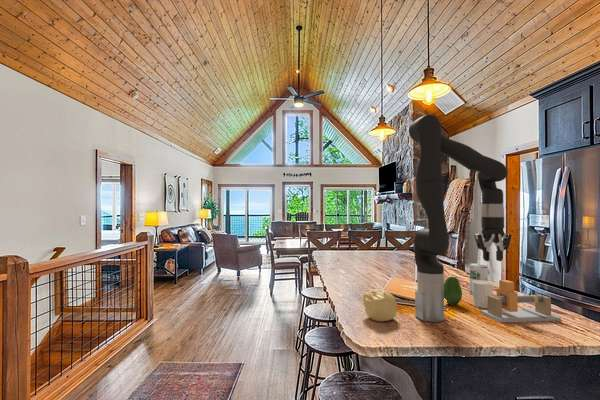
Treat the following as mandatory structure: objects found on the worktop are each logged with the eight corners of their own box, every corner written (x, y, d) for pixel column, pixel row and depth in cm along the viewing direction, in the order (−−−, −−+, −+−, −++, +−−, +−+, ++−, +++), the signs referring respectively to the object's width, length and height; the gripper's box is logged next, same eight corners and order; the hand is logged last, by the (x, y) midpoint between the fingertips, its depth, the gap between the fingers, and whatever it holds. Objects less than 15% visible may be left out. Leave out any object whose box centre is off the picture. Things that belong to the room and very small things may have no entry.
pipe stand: (500, 322, 118) (499, 300, 118) (480, 312, 128) (480, 292, 129) (560, 320, 120) (560, 298, 120) (536, 311, 131) (535, 291, 131)
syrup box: (468, 293, 157) (468, 263, 158) (478, 292, 159) (478, 262, 160) (478, 296, 152) (478, 265, 152) (488, 295, 154) (488, 264, 154)
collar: (510, 311, 120) (509, 283, 120) (496, 306, 127) (496, 279, 127) (517, 311, 120) (517, 283, 121) (503, 306, 127) (503, 279, 128)
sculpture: (358, 315, 125) (358, 286, 125) (387, 312, 128) (387, 285, 128) (372, 325, 114) (372, 294, 114) (403, 322, 117) (403, 292, 117)
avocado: (465, 304, 139) (465, 276, 139) (456, 308, 134) (456, 279, 134) (446, 300, 145) (446, 273, 145) (438, 304, 140) (438, 275, 140)
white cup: (496, 309, 133) (496, 284, 133) (475, 308, 135) (475, 283, 135) (489, 303, 141) (489, 280, 141) (469, 302, 142) (469, 279, 143)
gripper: (481, 216, 120) (481, 262, 119) (517, 216, 121) (518, 262, 121) (468, 215, 127) (469, 259, 127) (502, 215, 129) (503, 259, 128)
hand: (493, 260), depth 124 cm, fingers open, 4 cm apart
